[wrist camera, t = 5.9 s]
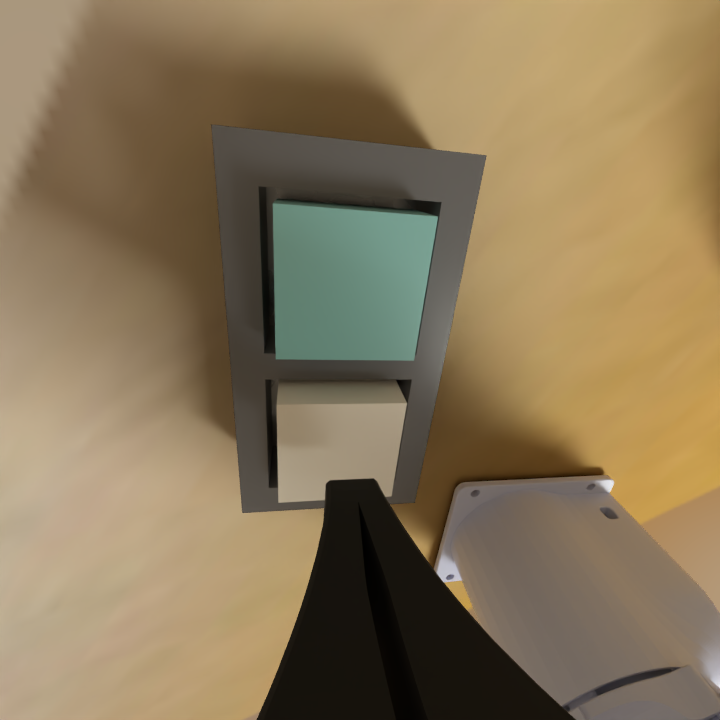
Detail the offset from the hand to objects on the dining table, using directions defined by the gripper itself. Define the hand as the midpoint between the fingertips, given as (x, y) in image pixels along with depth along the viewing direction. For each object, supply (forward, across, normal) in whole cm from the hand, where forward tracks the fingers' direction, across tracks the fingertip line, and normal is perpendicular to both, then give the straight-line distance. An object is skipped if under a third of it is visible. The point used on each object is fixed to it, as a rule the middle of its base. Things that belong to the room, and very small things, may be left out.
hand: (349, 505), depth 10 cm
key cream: (+4, 0, 0) cm, 4 cm away
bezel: (+6, 0, -3) cm, 7 cm away
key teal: (+4, 0, -6) cm, 7 cm away
